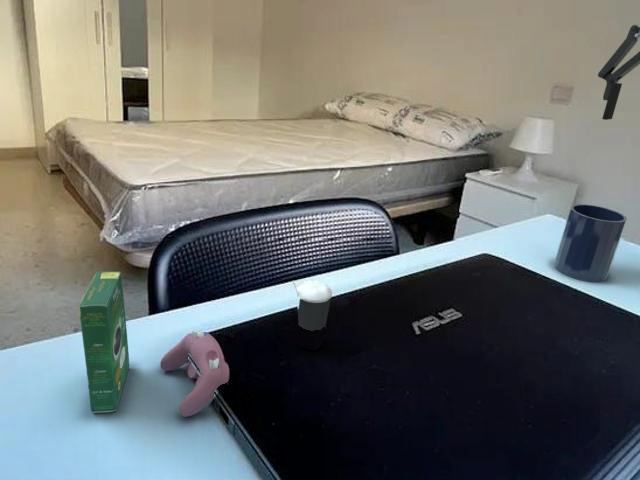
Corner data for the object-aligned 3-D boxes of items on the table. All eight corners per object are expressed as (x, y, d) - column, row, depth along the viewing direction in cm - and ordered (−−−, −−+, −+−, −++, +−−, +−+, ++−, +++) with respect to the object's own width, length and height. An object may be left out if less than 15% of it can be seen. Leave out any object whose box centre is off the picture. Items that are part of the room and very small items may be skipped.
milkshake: (283, 337, 68) (287, 272, 64) (319, 332, 70) (325, 269, 66) (293, 357, 64) (298, 289, 60) (331, 351, 66) (338, 285, 62)
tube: (603, 267, 100) (623, 210, 95) (609, 286, 91) (630, 226, 87) (553, 256, 103) (569, 200, 98) (554, 274, 95) (571, 214, 90)
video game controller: (215, 423, 55) (243, 369, 54) (177, 420, 52) (206, 363, 51) (189, 370, 63) (213, 323, 62) (155, 365, 60) (180, 315, 59)
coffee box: (105, 366, 60) (95, 268, 55) (131, 365, 60) (123, 268, 55) (89, 414, 53) (75, 307, 48) (118, 412, 53) (107, 306, 48)
